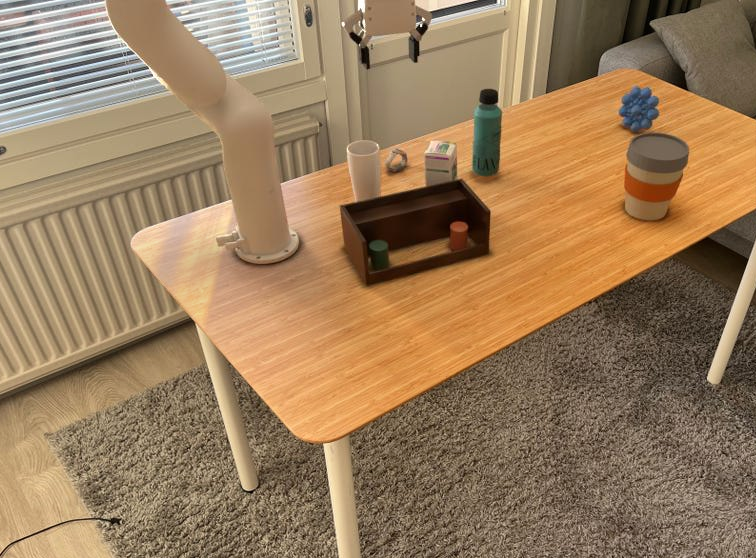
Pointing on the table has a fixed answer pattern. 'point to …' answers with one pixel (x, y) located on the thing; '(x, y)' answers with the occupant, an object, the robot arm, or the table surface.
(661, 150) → the reusable coffee cup
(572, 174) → the table surface
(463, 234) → the salmon pink cylinder
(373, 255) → the green spice tin
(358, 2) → the robot arm
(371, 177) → the drinking glass
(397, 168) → the wristwatch
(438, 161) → the syrup box
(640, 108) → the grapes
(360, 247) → the spice rack
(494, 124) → the beverage bottle
